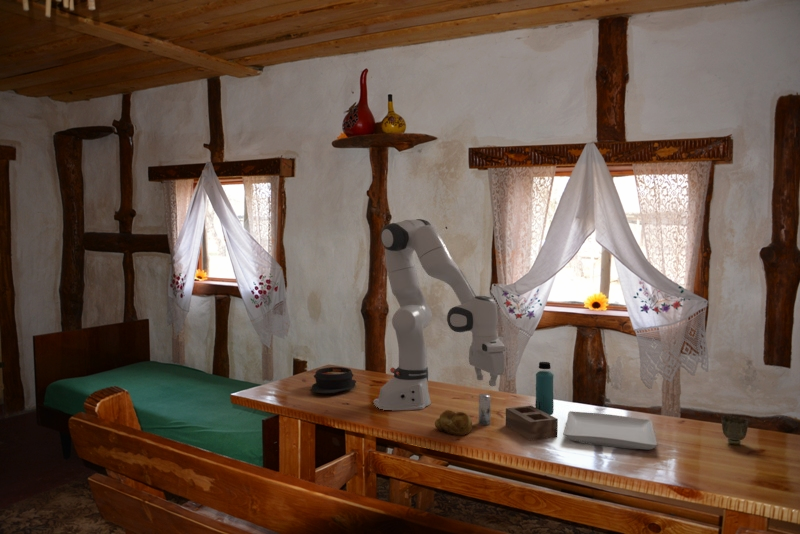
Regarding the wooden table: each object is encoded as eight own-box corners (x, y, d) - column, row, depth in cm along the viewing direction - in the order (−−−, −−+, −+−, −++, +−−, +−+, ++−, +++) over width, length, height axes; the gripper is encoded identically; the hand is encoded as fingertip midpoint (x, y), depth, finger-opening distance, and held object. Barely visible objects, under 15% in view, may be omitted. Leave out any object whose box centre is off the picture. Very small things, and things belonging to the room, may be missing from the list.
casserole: (329, 381, 260) (329, 363, 260) (366, 385, 253) (366, 366, 253) (299, 395, 237) (299, 374, 237) (339, 399, 230) (339, 379, 230)
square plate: (657, 456, 170) (658, 443, 170) (562, 445, 179) (562, 433, 179) (651, 428, 195) (652, 417, 195) (568, 420, 205) (568, 409, 204)
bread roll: (429, 432, 191) (429, 408, 191) (444, 424, 199) (444, 401, 199) (464, 439, 184) (464, 414, 183) (477, 431, 192) (477, 407, 191)
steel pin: (482, 426, 197) (482, 397, 196) (476, 422, 201) (477, 394, 200) (492, 424, 198) (492, 396, 198) (487, 421, 202) (487, 393, 201)
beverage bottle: (556, 416, 207) (557, 362, 206) (547, 421, 202) (548, 364, 202) (540, 413, 212) (541, 359, 211) (531, 417, 207) (532, 362, 206)
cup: (747, 449, 174) (748, 423, 174) (720, 445, 178) (720, 419, 178) (748, 442, 181) (748, 417, 180) (721, 438, 185) (721, 413, 184)
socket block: (530, 440, 182) (530, 422, 182) (505, 425, 197) (505, 408, 197) (557, 437, 186) (557, 418, 185) (530, 422, 201) (531, 405, 200)
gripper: (464, 339, 207) (464, 377, 207) (490, 348, 187) (491, 390, 188) (479, 338, 209) (480, 375, 209) (507, 347, 189) (508, 388, 190)
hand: (485, 382), depth 198 cm, fingers open, 8 cm apart
